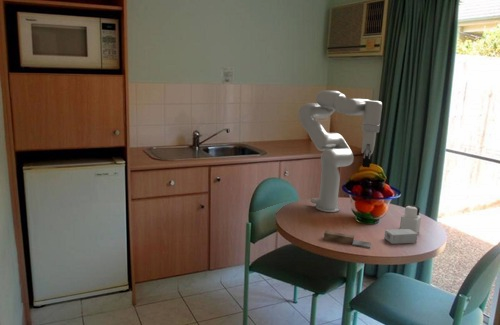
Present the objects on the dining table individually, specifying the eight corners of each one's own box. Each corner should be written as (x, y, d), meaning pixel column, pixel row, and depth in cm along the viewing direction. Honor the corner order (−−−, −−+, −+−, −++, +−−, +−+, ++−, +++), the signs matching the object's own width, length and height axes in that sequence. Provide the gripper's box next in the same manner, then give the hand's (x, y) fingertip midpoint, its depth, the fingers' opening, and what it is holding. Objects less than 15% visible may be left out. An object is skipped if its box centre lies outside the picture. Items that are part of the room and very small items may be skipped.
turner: (323, 240, 178) (323, 233, 177) (325, 236, 183) (325, 230, 182) (369, 248, 172) (370, 241, 172) (370, 244, 177) (371, 237, 176)
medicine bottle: (403, 227, 199) (406, 202, 197) (419, 231, 195) (423, 206, 193) (399, 231, 194) (402, 206, 191) (415, 235, 190) (418, 209, 187)
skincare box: (391, 244, 178) (416, 243, 180) (392, 234, 177) (418, 233, 180) (383, 238, 184) (408, 237, 186) (385, 229, 183) (409, 228, 185)
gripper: (364, 125, 201) (360, 160, 205) (360, 129, 185) (356, 167, 189) (380, 127, 199) (376, 162, 202) (378, 131, 183) (373, 169, 186)
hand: (366, 165), depth 196 cm, fingers open, 9 cm apart
